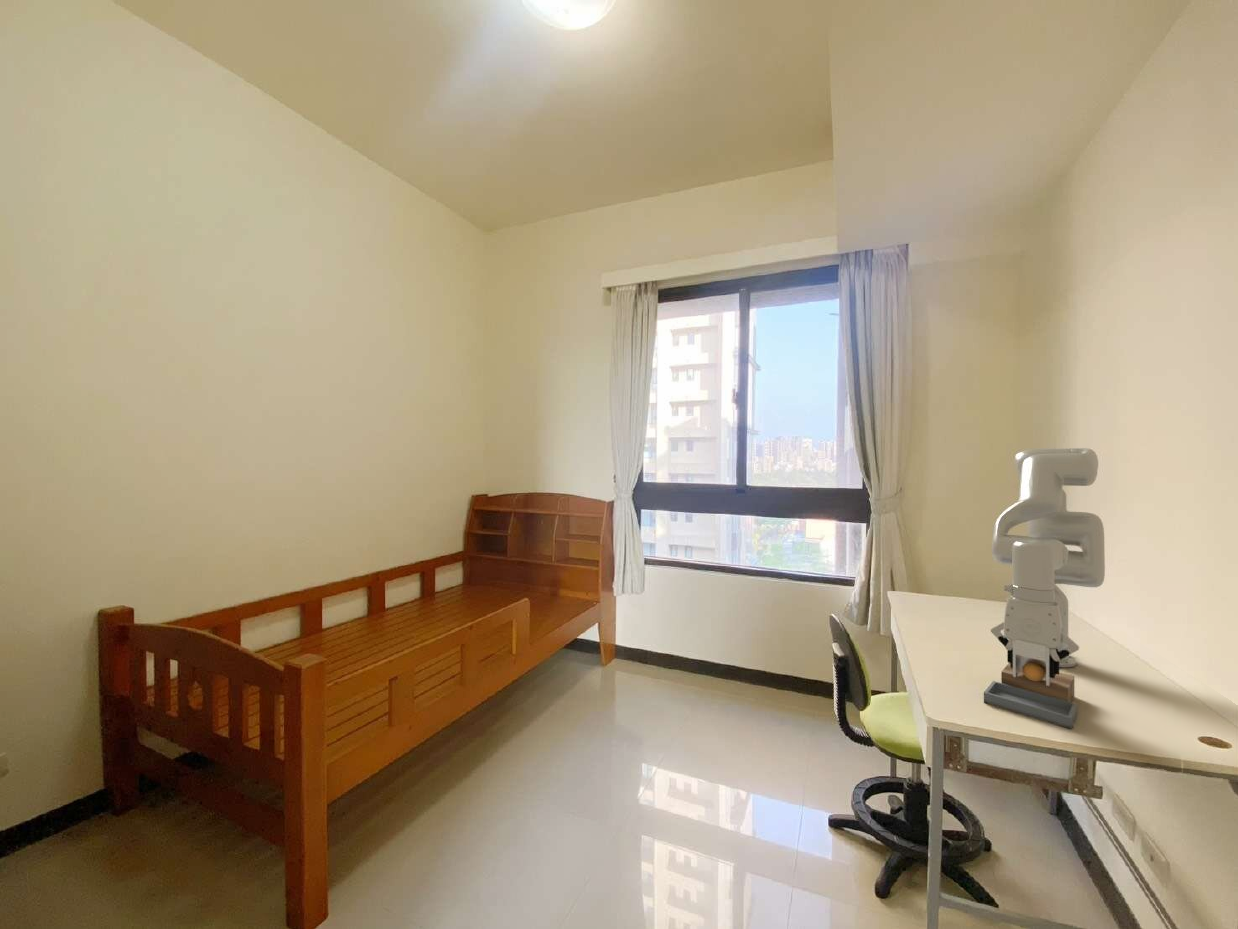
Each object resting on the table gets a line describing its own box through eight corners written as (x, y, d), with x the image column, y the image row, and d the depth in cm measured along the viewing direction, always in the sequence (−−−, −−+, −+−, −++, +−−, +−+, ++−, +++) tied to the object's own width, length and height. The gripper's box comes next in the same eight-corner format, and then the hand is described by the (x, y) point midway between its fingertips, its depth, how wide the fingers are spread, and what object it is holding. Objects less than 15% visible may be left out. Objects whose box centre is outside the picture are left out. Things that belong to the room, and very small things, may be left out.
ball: (1021, 658, 114) (1020, 675, 112) (1044, 663, 111) (1042, 681, 109) (1024, 663, 116) (1022, 679, 115) (1046, 668, 113) (1045, 685, 112)
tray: (993, 690, 118) (993, 680, 118) (1077, 714, 107) (1077, 703, 107) (983, 702, 112) (983, 692, 112) (1071, 729, 101) (1071, 717, 101)
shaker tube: (1018, 669, 117) (1018, 632, 117) (1053, 678, 112) (1053, 639, 112) (1012, 677, 113) (1012, 638, 113) (1048, 686, 108) (1048, 646, 108)
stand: (1010, 680, 124) (1010, 660, 124) (1074, 697, 115) (1074, 676, 115) (1001, 692, 117) (1001, 671, 117) (1068, 711, 108) (1068, 689, 108)
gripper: (983, 589, 116) (983, 664, 116) (1082, 605, 103) (1082, 689, 103) (990, 584, 121) (990, 656, 121) (1086, 599, 108) (1086, 679, 108)
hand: (1032, 670), depth 112 cm, fingers closed on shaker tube, 6 cm apart
